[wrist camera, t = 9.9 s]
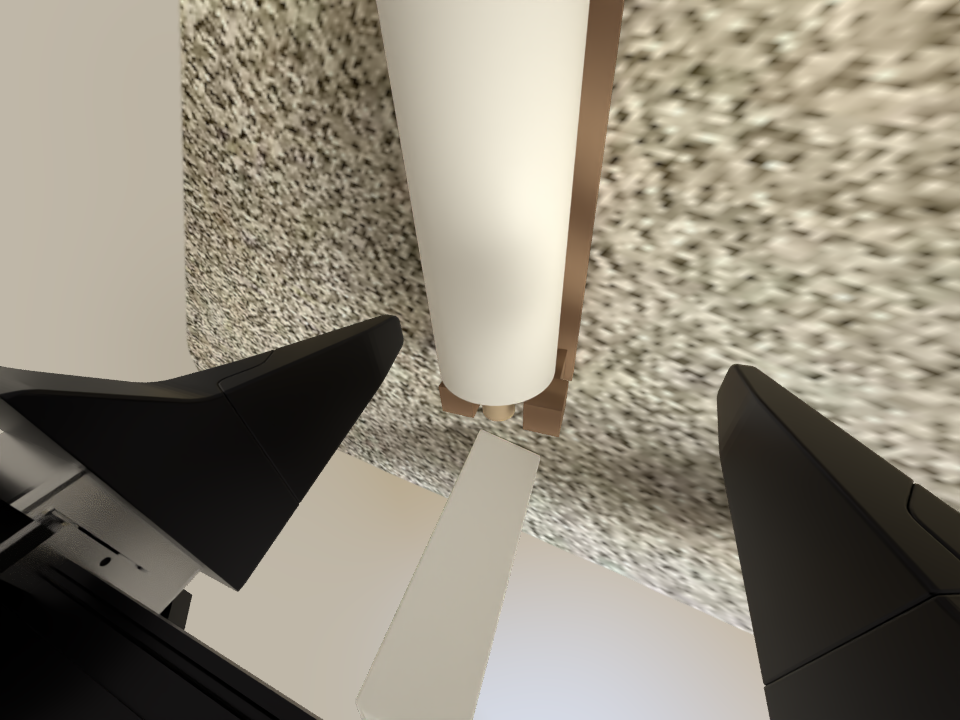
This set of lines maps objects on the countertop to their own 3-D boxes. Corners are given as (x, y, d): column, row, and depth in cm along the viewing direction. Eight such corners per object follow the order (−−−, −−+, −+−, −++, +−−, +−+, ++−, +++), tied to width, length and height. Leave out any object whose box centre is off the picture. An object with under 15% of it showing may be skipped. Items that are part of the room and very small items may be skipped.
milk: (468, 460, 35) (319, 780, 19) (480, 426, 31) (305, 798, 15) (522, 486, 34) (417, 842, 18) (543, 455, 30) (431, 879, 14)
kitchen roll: (572, 406, 21) (501, 472, 17) (496, 364, 25) (427, 411, 21) (673, -292, 8) (459, -585, 4) (476, -148, 11) (282, -240, 8)
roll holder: (573, 371, 24) (557, 443, 19) (479, 356, 26) (444, 416, 21) (650, -186, 10) (663, -430, 6) (442, -122, 12) (322, -258, 8)
